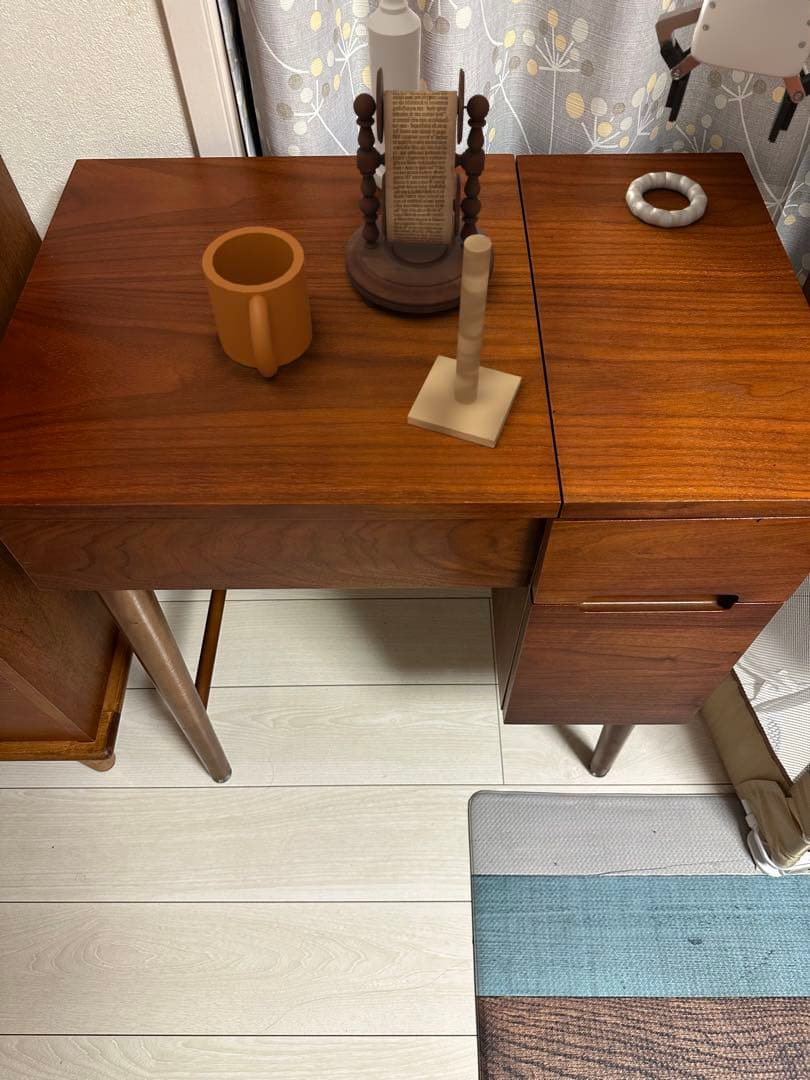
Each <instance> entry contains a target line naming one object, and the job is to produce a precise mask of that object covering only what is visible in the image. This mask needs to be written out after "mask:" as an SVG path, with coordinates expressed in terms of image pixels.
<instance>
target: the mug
mask: <svg viewBox="0 0 810 1080" xmlns="http://www.w3.org/2000/svg"><path fill="white" fill-rule="evenodd" d="M201 268H202V272H203V275H204V276H203V277H204V280H205V284H206V288H207V292H208V296H209V299H210V300H209V301H210V306H211V309H212V313H213V317H214V321H215V326H216V329H217V334H218V337H219V342H220V344H221V348H222V349H223V352H224V353H225V354H226V355H227V356H228V357H229V358H230V359H231V360H232V361H234V362H236V363H238V364H241V365H242V366H244V367H249V368H255V369H257V370H258V371H259V373H260V375H262V376H263V377H265V378H272V377H273V376H275V375H276V374H277V372H278V368H279V367H281V366H284V365H288V364H290V363H291V362H293V361H295V360H297V359H299V358H300V357H301V356H302V355H303V354H304V353H305V352H306V351H307V350H308V349H309V347H310V345H311V343H312V340H313V324H312V315H311V314H312V313H311V306H310V297H309V289H308V278H307V270H306V269H307V268H306V263H305V252H304V249H303V247H302V246H301V243H300V242H299V240H298V239H296V238H295V237H293V235H291V234H290V233H288V232H285V231H283V230H282V229H278V228H273V227H268V226H261V225H260V226H259V225H258V226H245V227H240V228H236V229H233V230H230V231H228V232H226V233H223V234H222V235H220V236H217V237H216V238H215V239H214V240H213V241H211V243H210V244H208V245H207V247H206V249H205V251H204V253H203V254H202V261H201Z"/></svg>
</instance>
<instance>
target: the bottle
mask: <svg viewBox="0 0 810 1080" xmlns="http://www.w3.org/2000/svg"><path fill="white" fill-rule="evenodd" d="M366 33H367V50H368V52H367V53H368V65H369V83H370V95H371V96H372V97H373V98H374V100H375V102H376V82H377V71H378V70H379V68H382V69H383V81H384V92H385V90H420V72H421V70H420V69H421V43H422V42H421V40H422V39H421V37H422V21H421V19H420V16H418V15H417V13H415V12H414V11H413V10H412V8H410V7H409V1H408V0H379V3H378V7H377V8H376V10H374V12H372V14H371V15H370V16H369V17H368V18H367V21H366ZM372 117H373V118H374V120H375V123H374V124H373V125H372V131H373V134H374V137H375V144H374V147H375V148H376V149H377V151H379V152H380V154H381V155H382V154H383V153H385V143H384V134H383V143H382V144H380V142H379V141H378V139H377V124H376V111H375V113H374V115H373V116H372ZM384 172H385V167H384V166H383V165H380V167H379V168H377V169H376V173H375V174H374V175H373V177H374V180H375V182H376V186H377V188H378V189H380V190H381V191H382V175H383V173H384Z"/></svg>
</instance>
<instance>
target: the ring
mask: <svg viewBox="0 0 810 1080" xmlns="http://www.w3.org/2000/svg"><path fill="white" fill-rule="evenodd" d="M654 189H655V190H656V189H666V190H672V191H676V192H678V193H680V194H681V195H683V196H685V197H686V198H687V199H688V200H689V202H690V204H689V206H687V207H685V208H684V209H677V210H667V209H662V208H657V207H654V206H653V205H651V204H650V203H648V202H647V201H645V199H644V197H643V195H644V193H647V191H649V190H654ZM625 202H626V204H627V206H628V207H629V210H630V212H631V213H632V214H633V215H634V216H636V217H637V218H638V219H640V220H642V221H643V222H645V223H647V224H649V225H653V226H657V227H662V228H667V229H669V228H676V227H686V226H688V225H690V224H692V223H693V222H695V221H697V220H699V219H700V218H702V216H703V215H704V214H705V210H706V207H707V204H708V197H707V195H706V193H705V192H704V189H703V187H702V186H701V185H700V184H699V183H697V182H696V181H694V180H692V179H691V178H689V177H688V176H686V175H683V174H677V173H673V172H668V171H659V172H650V173H646V174H643V175H642V176H640V177H638V178H637V179H635V180H633V181H631V183H630V184H629V186H628V190H627V192H626V194H625Z"/></svg>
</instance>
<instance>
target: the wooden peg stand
mask: <svg viewBox="0 0 810 1080" xmlns="http://www.w3.org/2000/svg"><path fill="white" fill-rule="evenodd" d="M491 247H493V243H492V241H491V239H490V238H489V236H488V237H486V236H483V235H472V236H469V237H468V238H466V240H465V241H464V251H463V267H462V282H461V298H460V305H459V314H458V315H459V316H458V329H457V331H458V332H457V345H456V359H455V358H452V357H448V356H444V355H440V354H438V356H437V357H436V359H435V361H434V363H433V365H432V367H431V369H430V371H429V373H428V375H427V376H426V378H425V381H424V383H423V385H422V387H421V389H420V391H419V392H418V394H417V397H416V398H415V401H414V402H413V404H412V407H411V408H410V411H409V413H408V414H407V424H409V425H412V426H416V427H418V428H422V429H426V430H429V431H434V432H436V433H440V434H443V435H447V436H450V437H453V438H456V439H461V440H463V441H468V442H470V443H474V444H478V445H481V446H485V447H488V448H492V449H495V447H496V444H497V442H498V441H499V437H500V434H501V432H502V430H503V427H504V425H505V423H506V421H507V418H508V415H509V413H510V411H511V408H512V406H513V403H514V402H515V399H516V396H517V394H518V392H519V389H520V387H521V384H522V376H518V375H514V374H512V373H511V374H510V373H507V372H504V371H500V370H496V369H493V368H488V367H486V366H485V367H484V366H481V360H482V359H481V358H482V349H483V337H484V328H485V327H484V326H485V317H486V307H487V297H488V287H489V286H488V285H489V282H488V277H489V267H490V257H491Z"/></svg>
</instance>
